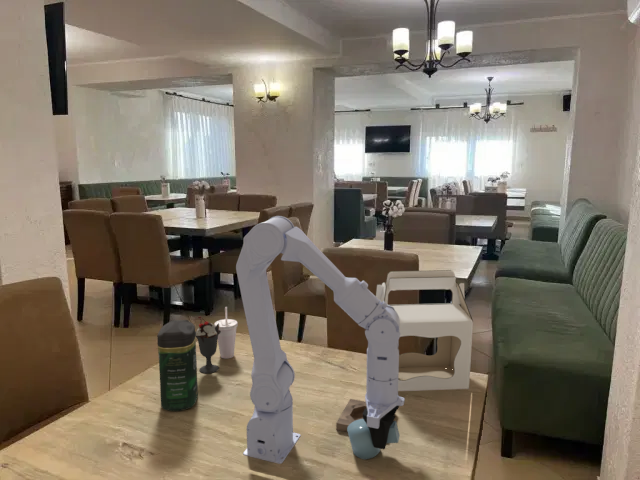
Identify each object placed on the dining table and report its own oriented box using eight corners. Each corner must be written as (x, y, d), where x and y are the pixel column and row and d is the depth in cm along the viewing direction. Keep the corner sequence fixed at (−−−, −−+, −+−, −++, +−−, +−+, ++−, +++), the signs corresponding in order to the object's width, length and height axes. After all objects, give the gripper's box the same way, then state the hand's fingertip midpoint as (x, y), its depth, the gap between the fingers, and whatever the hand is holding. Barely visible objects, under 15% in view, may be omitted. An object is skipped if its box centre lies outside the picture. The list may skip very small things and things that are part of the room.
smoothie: (241, 351, 132) (239, 304, 130) (235, 361, 126) (233, 312, 124) (219, 350, 133) (217, 303, 130) (212, 360, 127) (210, 311, 124)
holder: (384, 442, 90) (385, 432, 90) (336, 431, 94) (336, 422, 93) (394, 415, 100) (394, 407, 99) (350, 407, 103) (350, 398, 103)
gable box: (378, 394, 109) (380, 279, 104) (368, 368, 122) (370, 265, 117) (470, 390, 110) (477, 277, 105) (451, 365, 123) (456, 263, 118)
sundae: (190, 373, 119) (187, 317, 116) (204, 362, 125) (202, 309, 123) (213, 376, 117) (211, 320, 114) (226, 365, 123) (224, 311, 121)
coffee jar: (195, 411, 101) (191, 331, 98) (158, 414, 100) (152, 333, 97) (200, 389, 111) (197, 316, 107) (166, 392, 110) (161, 317, 106)
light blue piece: (350, 460, 85) (344, 435, 85) (356, 442, 90) (350, 419, 90) (399, 458, 82) (393, 432, 82) (403, 440, 87) (397, 416, 87)
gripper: (396, 397, 75) (395, 471, 78) (411, 360, 89) (409, 425, 91) (355, 390, 78) (354, 462, 80) (375, 355, 91) (374, 418, 93)
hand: (381, 442), depth 86 cm, fingers closed on light blue piece, 3 cm apart
